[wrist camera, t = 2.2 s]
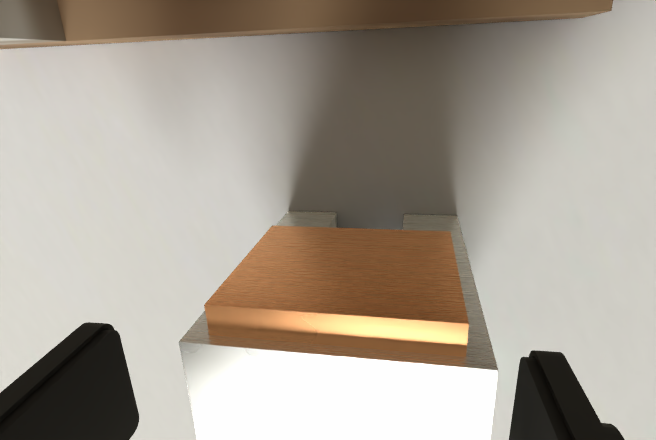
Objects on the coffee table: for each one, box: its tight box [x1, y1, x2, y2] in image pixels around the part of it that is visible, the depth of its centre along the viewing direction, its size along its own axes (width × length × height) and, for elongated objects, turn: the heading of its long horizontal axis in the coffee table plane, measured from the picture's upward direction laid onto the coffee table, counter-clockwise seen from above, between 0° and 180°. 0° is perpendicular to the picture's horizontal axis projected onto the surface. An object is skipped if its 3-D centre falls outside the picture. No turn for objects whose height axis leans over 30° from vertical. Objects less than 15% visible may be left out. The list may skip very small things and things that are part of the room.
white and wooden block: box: [179, 211, 498, 440], centre depth 12 cm, size 5×6×8 cm
